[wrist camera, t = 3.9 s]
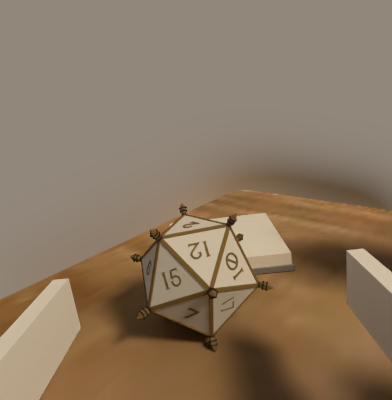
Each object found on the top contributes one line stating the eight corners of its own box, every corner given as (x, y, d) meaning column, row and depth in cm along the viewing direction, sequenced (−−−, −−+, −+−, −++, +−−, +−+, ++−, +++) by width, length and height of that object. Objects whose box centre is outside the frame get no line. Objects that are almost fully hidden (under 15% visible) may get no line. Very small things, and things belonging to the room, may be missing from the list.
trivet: (158, 284, 28) (155, 268, 28) (170, 235, 40) (168, 223, 40) (294, 270, 28) (293, 253, 28) (267, 224, 40) (266, 212, 39)
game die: (193, 352, 25) (169, 231, 29) (299, 329, 22) (256, 195, 25) (111, 380, 18) (92, 212, 21) (253, 351, 14) (201, 157, 18)
